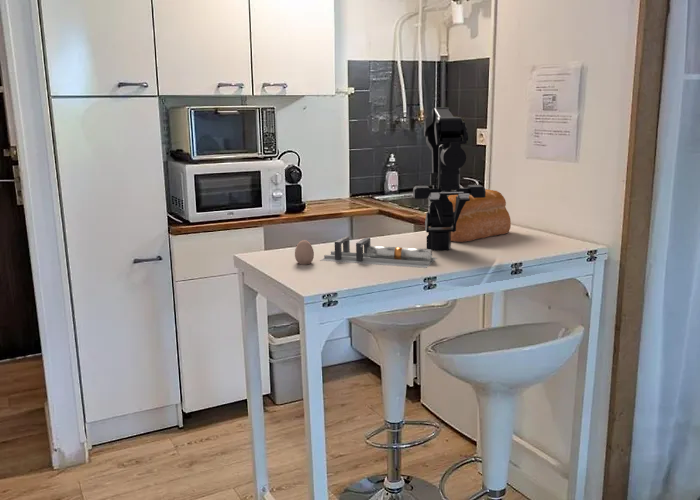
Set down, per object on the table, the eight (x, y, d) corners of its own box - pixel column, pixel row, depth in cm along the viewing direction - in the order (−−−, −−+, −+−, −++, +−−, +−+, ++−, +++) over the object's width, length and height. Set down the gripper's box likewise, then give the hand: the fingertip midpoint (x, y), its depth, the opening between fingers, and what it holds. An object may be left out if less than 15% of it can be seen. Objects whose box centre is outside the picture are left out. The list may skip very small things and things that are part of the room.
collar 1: (349, 253, 195) (349, 236, 194) (339, 260, 188) (339, 242, 187) (345, 253, 196) (344, 236, 194) (334, 259, 188) (334, 241, 187)
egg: (300, 269, 182) (299, 243, 180) (292, 265, 186) (290, 239, 185) (317, 266, 185) (316, 240, 183) (308, 262, 189) (307, 237, 187)
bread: (431, 238, 219) (431, 192, 216) (485, 228, 235) (486, 185, 231) (461, 244, 209) (462, 197, 206) (515, 233, 224) (516, 189, 221)
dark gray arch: (370, 255, 193) (370, 237, 192) (361, 261, 186) (361, 243, 184) (365, 254, 193) (365, 237, 192) (356, 261, 186) (356, 243, 185)
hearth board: (436, 260, 188) (436, 255, 188) (426, 270, 177) (426, 264, 177) (335, 253, 199) (335, 248, 199) (320, 263, 188) (320, 257, 188)
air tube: (431, 262, 184) (432, 250, 185) (428, 261, 181) (429, 248, 181) (370, 258, 191) (371, 246, 191) (366, 257, 187) (367, 244, 188)
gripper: (478, 162, 183) (477, 217, 186) (411, 163, 183) (411, 218, 187) (486, 166, 172) (485, 225, 175) (414, 167, 172) (414, 226, 176)
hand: (448, 223), depth 179 cm, fingers open, 3 cm apart
